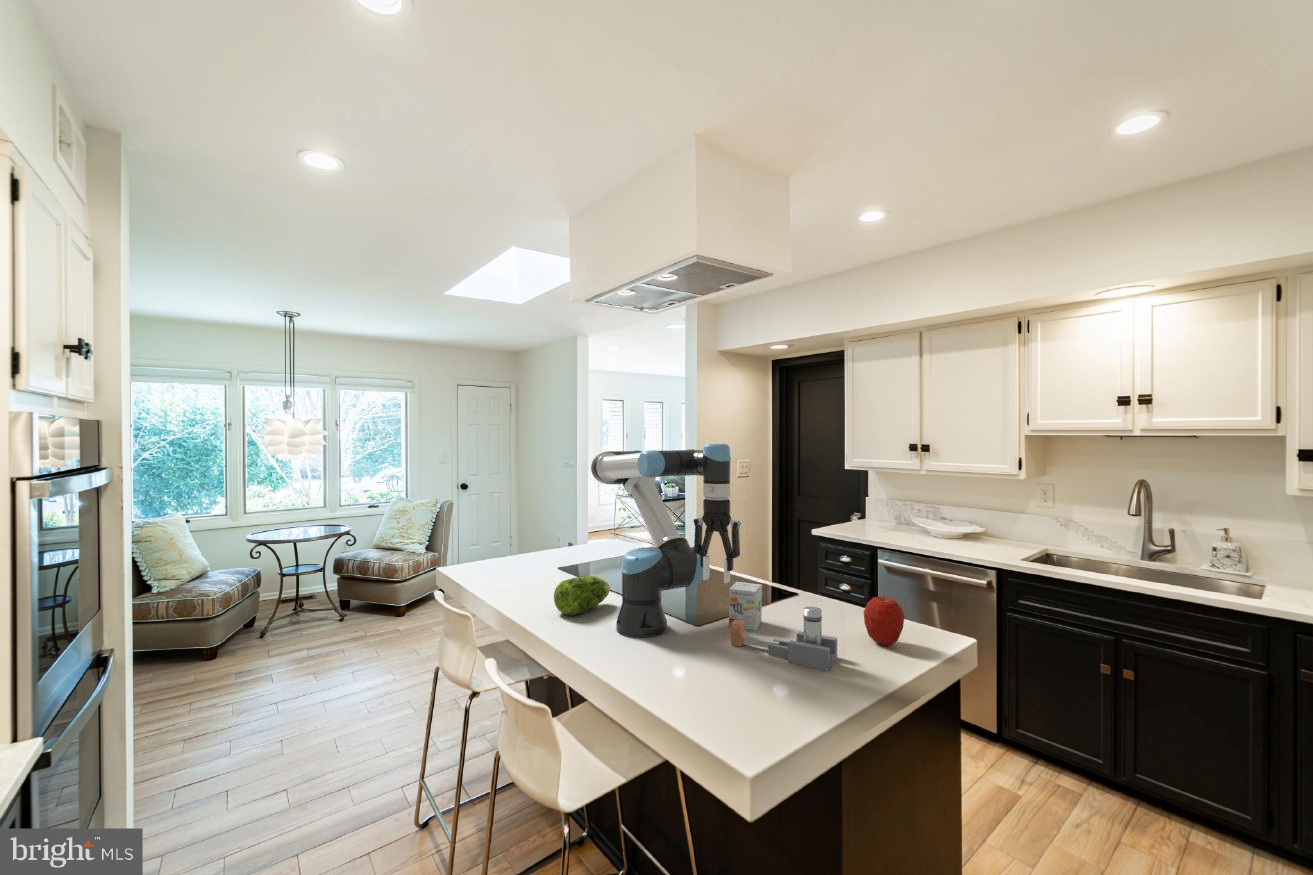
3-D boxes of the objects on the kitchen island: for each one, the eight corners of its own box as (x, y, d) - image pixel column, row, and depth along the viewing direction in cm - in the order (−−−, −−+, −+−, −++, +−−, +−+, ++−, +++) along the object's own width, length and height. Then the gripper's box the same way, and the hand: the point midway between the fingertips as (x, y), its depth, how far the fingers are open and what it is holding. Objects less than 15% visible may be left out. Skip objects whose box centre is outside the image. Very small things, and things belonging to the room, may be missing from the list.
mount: (765, 657, 144) (765, 638, 144) (777, 645, 152) (777, 627, 152) (827, 670, 136) (827, 650, 136) (837, 657, 144) (837, 637, 144)
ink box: (728, 626, 168) (728, 587, 168) (735, 618, 176) (735, 580, 176) (756, 630, 164) (756, 590, 164) (762, 621, 172) (762, 583, 172)
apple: (860, 646, 152) (860, 595, 152) (867, 634, 161) (867, 586, 161) (901, 653, 147) (901, 601, 147) (906, 641, 155) (906, 592, 155)
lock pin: (730, 644, 152) (730, 622, 152) (735, 641, 155) (735, 619, 155) (776, 653, 146) (776, 631, 146) (780, 650, 148) (780, 627, 148)
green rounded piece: (618, 605, 188) (618, 572, 188) (573, 621, 172) (573, 585, 172) (594, 599, 195) (594, 567, 195) (549, 614, 179) (549, 579, 179)
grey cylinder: (801, 660, 142) (801, 610, 142) (806, 655, 146) (806, 605, 146) (819, 664, 140) (819, 612, 140) (823, 658, 143) (823, 608, 143)
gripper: (681, 497, 158) (681, 579, 158) (742, 501, 148) (742, 588, 148) (693, 495, 164) (692, 573, 164) (752, 498, 155) (752, 581, 155)
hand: (716, 580), depth 156 cm, fingers open, 6 cm apart
